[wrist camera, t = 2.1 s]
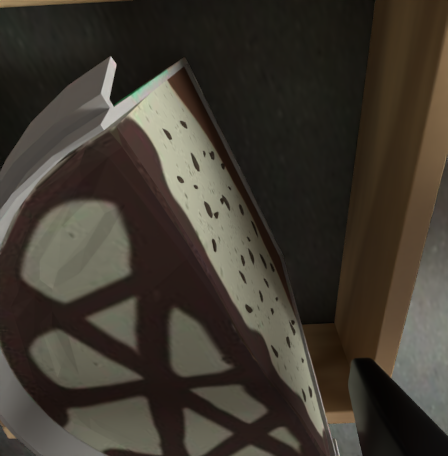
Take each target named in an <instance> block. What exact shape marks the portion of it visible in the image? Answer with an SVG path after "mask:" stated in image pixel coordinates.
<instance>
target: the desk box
mask: <svg viewBox="0 0 448 456" xmlns="http://www.w3.org/2000/svg"><path fill="white" fill-rule="evenodd" d="M113 1H131V0H0V8H6V7H24V6H42V5H60V4H78V3H95V2H113ZM447 154H448V0H375V7H374V15H373V23H372V30H371V38H370V46H369V54H368V62H367V70H366V77H365V85H364V93H363V101H362V109H361V117H360V125H359V132H358V140H357V148H356V156H355V164H354V172H353V179H352V187H351V195H350V203H349V211H348V219H347V226H346V234H345V242H344V250H343V258H342V266H341V273H340V281H339V289H338V297H337V305H336V313H335V320H334V323H325V324H305V325H302V328H303V331H304V335H305V339H306V343H307V346H308V350H309V354H310V358H311V361H312V365H313V369H314V373H315V376H316V380H317V384H318V388H319V391H320V395H321V399H322V402H323V406H324V410H325V414H326V417H327V421H328V424H336V423H356V422H355V418H354V413H353V408H352V404H351V399H350V394H349V389H348V379H349V373H350V367H351V362H352V360H353V359H354V358H365V357H368V358H371V359H373V360H374V361H375V362H376V363H377V364H378V365H379V366H380V367H381V368H382V369H383V370H384V371H385V372H386V373H387V374H388V375H389V376H390V378H391V376H392V372H393V368H394V364H395V360H396V357H397V353H398V349H399V345H400V341H401V337H402V333H403V329H404V325H405V321H406V317H407V313H408V309H409V305H410V301H411V297H412V293H413V289H414V285H415V281H416V277H417V273H418V269H419V265H420V261H421V257H422V253H423V249H424V245H425V241H426V237H427V234H428V230H429V226H430V222H431V218H432V214H433V210H434V206H435V202H436V198H437V194H438V190H439V186H440V182H441V178H442V174H443V170H444V166H445V162H446V158H447ZM0 424H1V426H2V427H3V430H4V432H5V433H6V435H7V437H8V438H10V439H11V438H16V437H15V436H14V435H13V434H12V433H11V432H10V431H9V430H8V429H7V427H6V426H5V425H4V424H3V423H2V421H1V420H0Z"/></svg>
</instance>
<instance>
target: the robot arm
mask: <svg viewBox="0 0 448 456" xmlns="http://www.w3.org/2000/svg"><path fill="white" fill-rule="evenodd" d="M348 389H349V394H350V399H351V404H352V408H353V413H354V418H355V422H356V427H357V432H358V437H359V441H360V446H361V450H362V455H363V456H448V436H447V435H446V434H445V433H444V432H443V431H442V430H441V429H440V428H439V427H438V426H437V425H436V424H435V423H434V422H433V420H432V419H431V418H430V417H429V416H428V415H427V414H426V413H425V412H424V411H423V410H422V409H421V408H420V407H419V406H418V405H417V404H416V403H415V402H414V401H413V400H412V399H411V398H410V397H409V396H408V395H407V394H406V393H405V392H404V391H403V390H402V389H401V388H400V387H399V386H398V385H397V384H396V383H395V382H394V381H393V380H392V379H391V378H390V376H389V375H388V374H387V373H386V372H385V371H384V370H383V369H382V368H381V367H380V366H379V365H378V364H377V363H376V362H375V361H374V360H373V359H371V358H368V357H365V358H354V359H353V360H352V362H351V367H350V373H349V379H348Z"/></svg>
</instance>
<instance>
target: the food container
mask: <svg viewBox="0 0 448 456" xmlns="http://www.w3.org/2000/svg"><path fill="white" fill-rule="evenodd" d="M115 70H116V63H115V62H114V60H113V59H112V57H111V56H110V57H108V58H107V59H106V60H104V61H103V62H101V63H100V64H98V65H97V66H95V67H94V68H93V69H91V70H90V71H88V72H87V73H85V74H84V75H82V76H81V77H80V78H78V79H77V80H75V81H74V82H72V83H71V84H69V85H68V86H67V87H66V88H65V89H64V90H63V91H62V92H61V93H60V94H59V95H58V96H57V97H56V98H55V99H54V100H53V101H52V102H51V103H50V104H49V105H48V106H47V107H46V108H45V109H44V110H43V111H42V112H41V113H40V114H39V115H38V116H37V117H36V118H35V119H34V120H33V121H32V122H31V123H30V125H29V126H28V128H27V129H26V131H25V132H24V134H23V135H22V137H21V138H20V140H19V141H18V143H17V144H16V146H15V147H14V149H13V150H12V152H11V153H10V155H9V156H8V158H7V159H6V160H5V163H4V165H3V167H2V169H1V171H0V420H1V421H2V423H3V424H4V425H5V426H6V427H7V429H8V430H9V431H10V432H11V433H12V434H13V435H14V436H15V437H16V438H17V439H18V440H19V441H21V442H22V443H23V444H24V445H25V446H26V447H27V448H29V449H30V450H31V451H32V452H33V453H34V454H35V455H37V456H340V455H339V451H338V446H337V442H336V440H335V439H332V436H331V432H330V429H329V425H328V421H327V417H326V414H325V410H324V406H323V402H322V399H321V395H320V391H319V388H318V384H317V380H316V376H315V373H314V369H313V365H312V361H311V358H310V354H309V350H308V346H307V343H306V339H305V335H304V331H303V328H302V324H301V320H300V316H299V313H298V309H297V305H296V301H295V298H294V294H293V290H292V286H291V283H290V279H289V275H288V271H287V268H286V264H285V260H284V256H283V254H282V252H281V250H280V248H279V246H278V244H277V242H276V240H275V238H274V236H273V234H272V232H271V230H270V228H269V226H268V224H267V221H266V219H265V217H264V215H263V213H262V211H261V209H260V207H259V205H258V203H257V201H256V199H255V197H254V195H253V193H252V191H251V189H250V187H249V185H248V183H247V181H246V179H245V177H244V175H243V173H242V171H241V169H240V167H239V165H238V163H237V161H236V159H235V157H234V155H233V153H232V151H231V149H230V147H229V145H228V143H227V141H226V139H225V137H224V135H223V133H222V131H221V129H220V127H219V125H218V123H217V121H216V119H215V117H214V115H213V112H212V110H211V108H210V106H209V104H208V102H207V100H206V98H205V96H204V94H203V92H202V90H201V88H200V86H199V84H198V82H197V80H196V78H195V76H194V74H193V72H192V70H191V68H190V66H189V64H188V62H187V60H186V58H185V57H183V58H182V59H180V60H179V61H177V62H176V63H174V64H172V65H171V66H169V67H168V68H166V69H165V70H163V71H162V72H160V73H159V74H157V75H156V76H154V77H153V78H151V79H150V80H148V81H147V82H146V83H144V84H143V85H141V86H140V87H138V88H137V89H136V90H134V91H133V92H131V93H130V94H128V95H127V96H125V97H124V98H123V99H121V100H120V101H118V102H117V103H115V104H114V105H113V104H112V103H111V101H110V100H109V98H110V93H111V88H112V84H113V79H114V74H115Z"/></svg>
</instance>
